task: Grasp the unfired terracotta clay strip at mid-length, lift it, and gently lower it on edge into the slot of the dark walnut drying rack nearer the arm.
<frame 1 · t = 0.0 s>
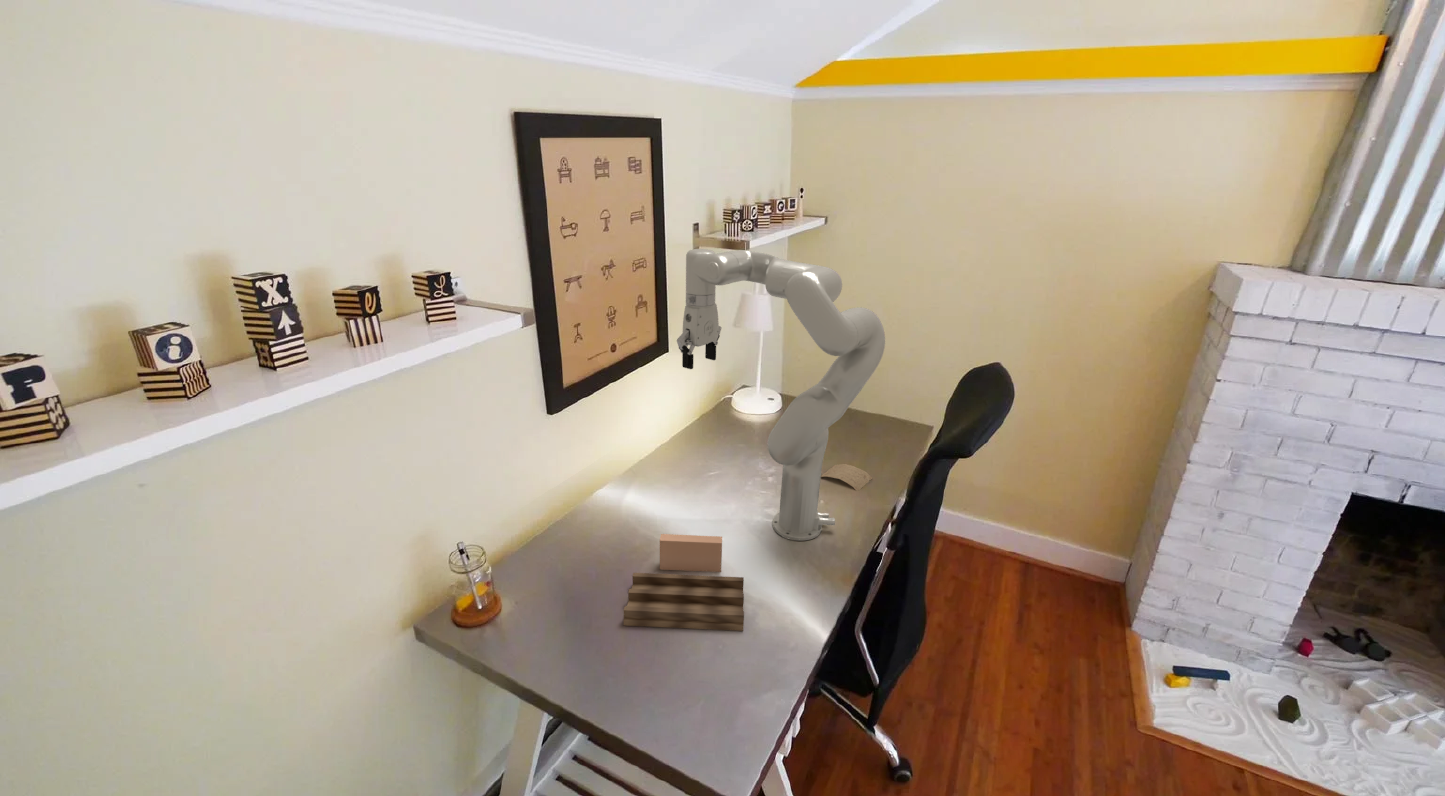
hand: (699, 363, 156), 37 cm above the table, tool pointing down, fingers open, 9 cm apart
clay strip: (690, 567, 136), on the table
clay tablet: (845, 480, 177), on the table
drying rack: (686, 606, 124), on the table
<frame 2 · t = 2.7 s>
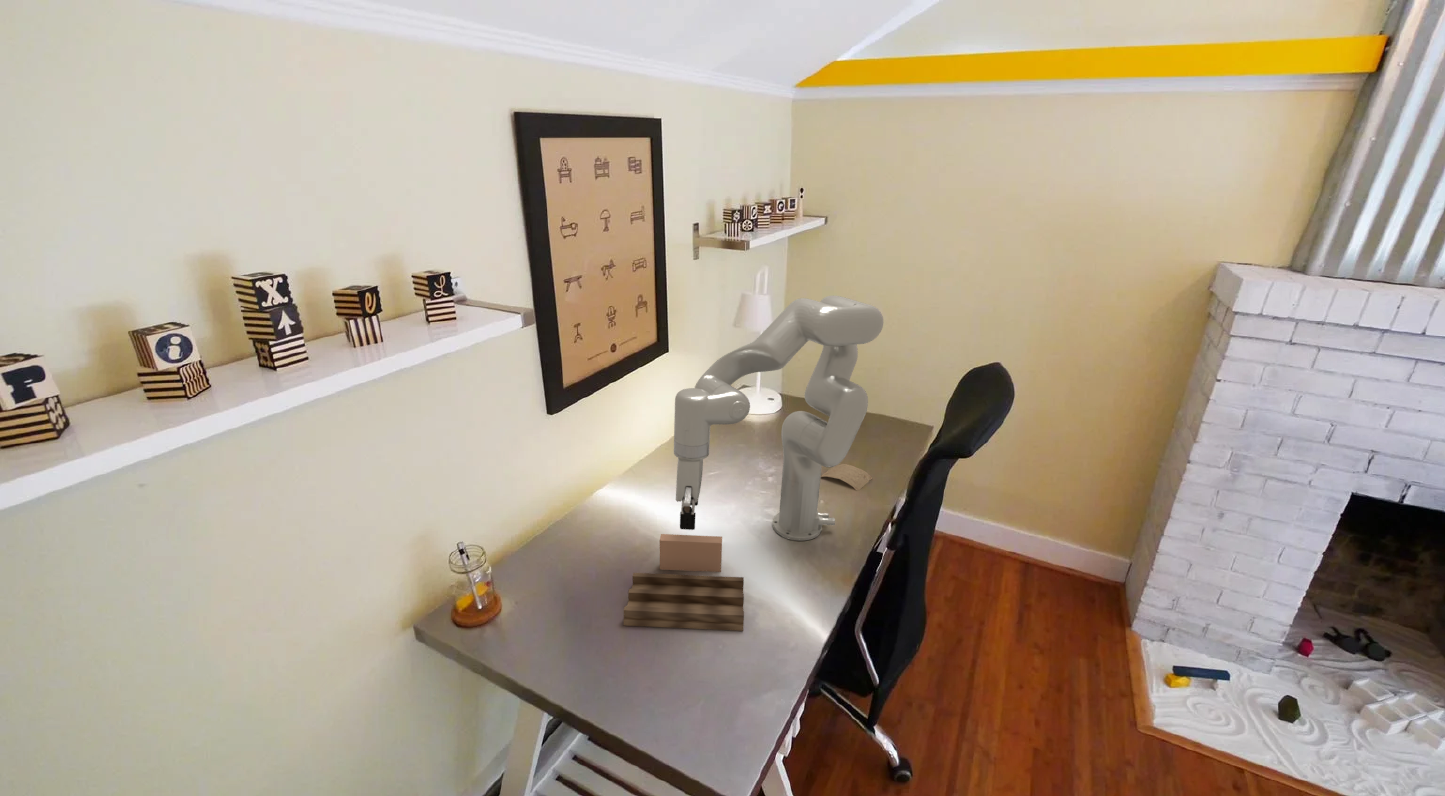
hand: (689, 516, 130), 14 cm above the table, tool pointing down, fingers open, 9 cm apart
nothing on the table moved.
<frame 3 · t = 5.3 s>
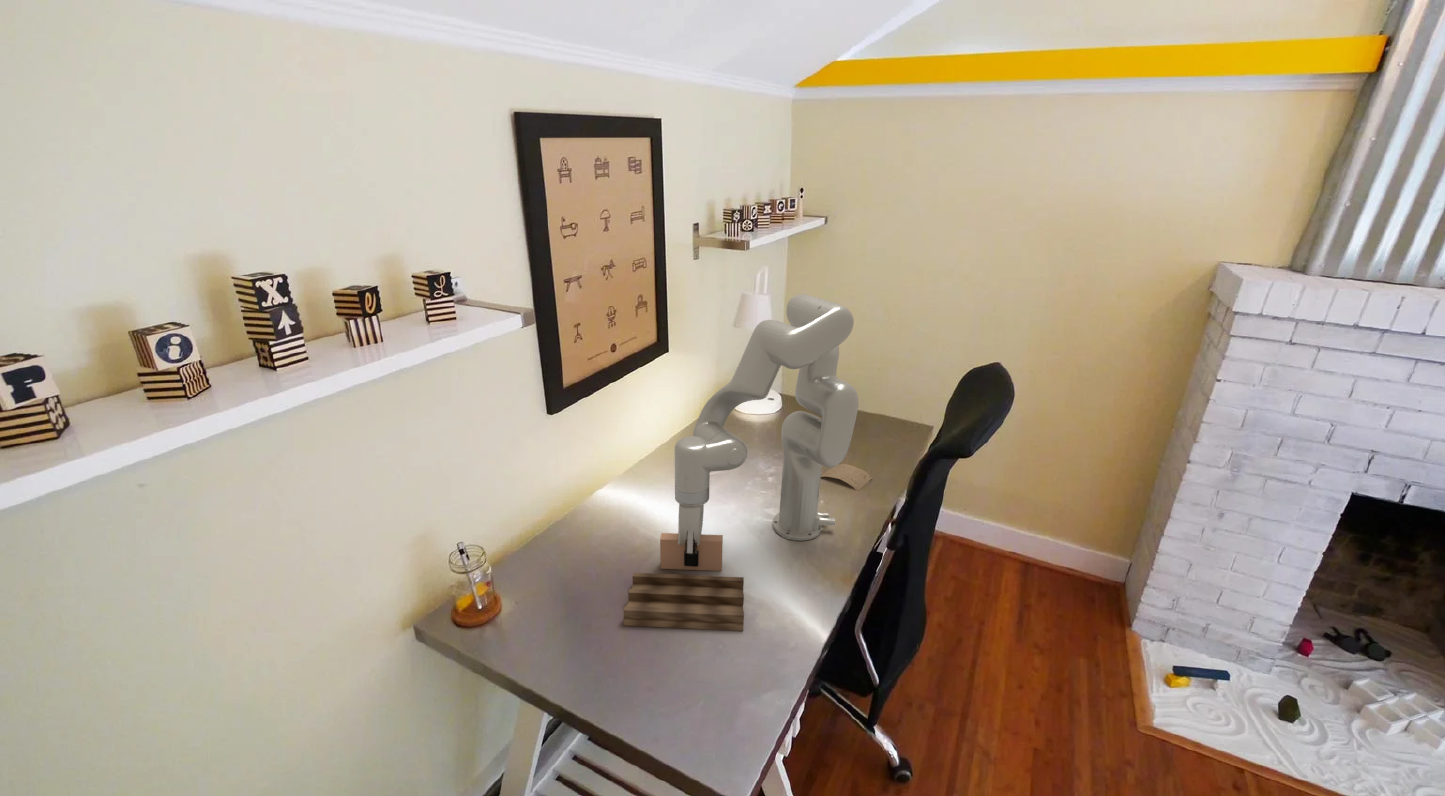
hand: (691, 560, 135), 2 cm above the table, tool pointing down, fingers closed on clay strip, 2 cm apart
clay strip: (691, 566, 136), on the table, touching gripper
everything else where it was.
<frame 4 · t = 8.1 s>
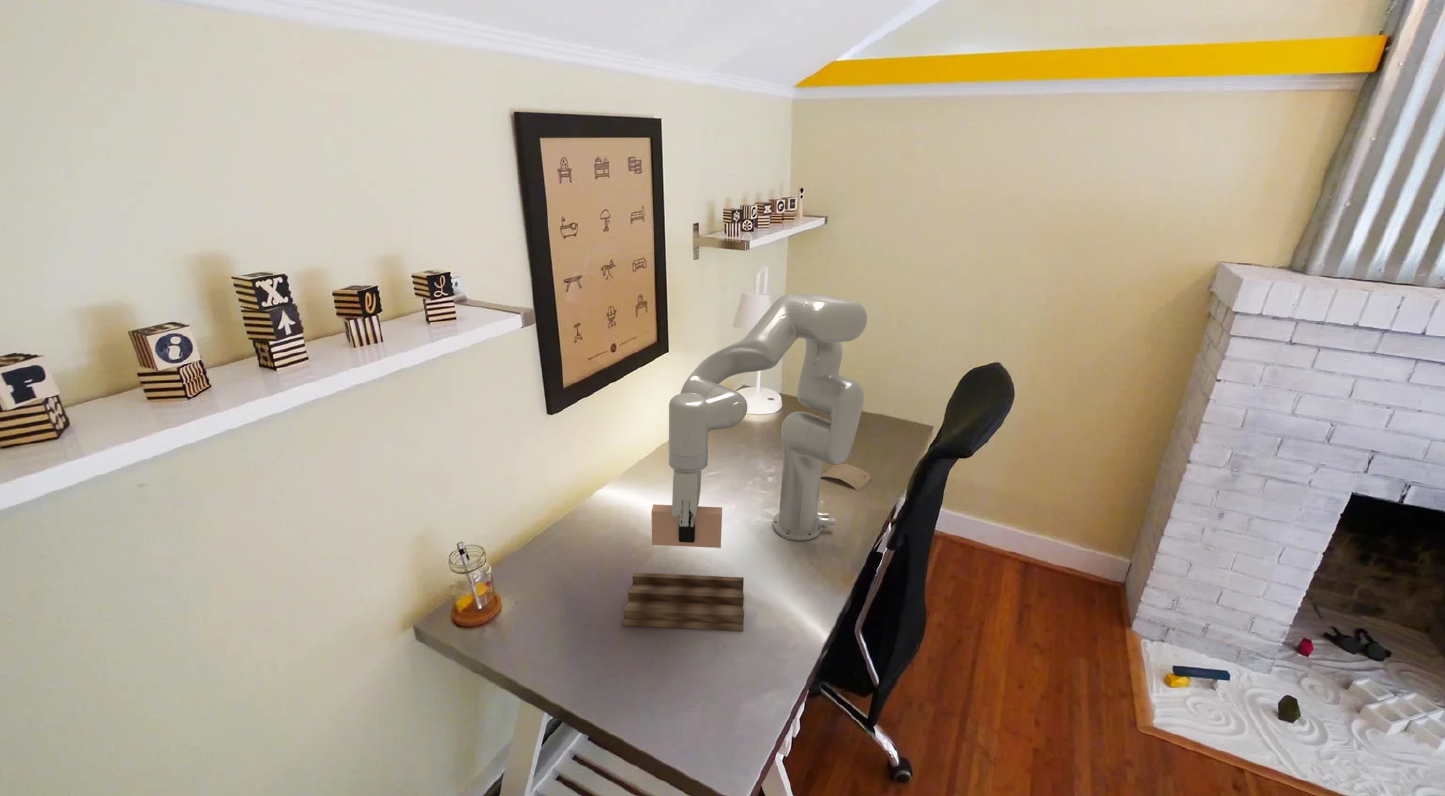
hand: (687, 536, 120), 16 cm above the table, tool pointing down, fingers closed on clay strip, 2 cm apart
clay strip: (686, 542, 121), point 14 cm above the table, touching gripper
everything else where it was.
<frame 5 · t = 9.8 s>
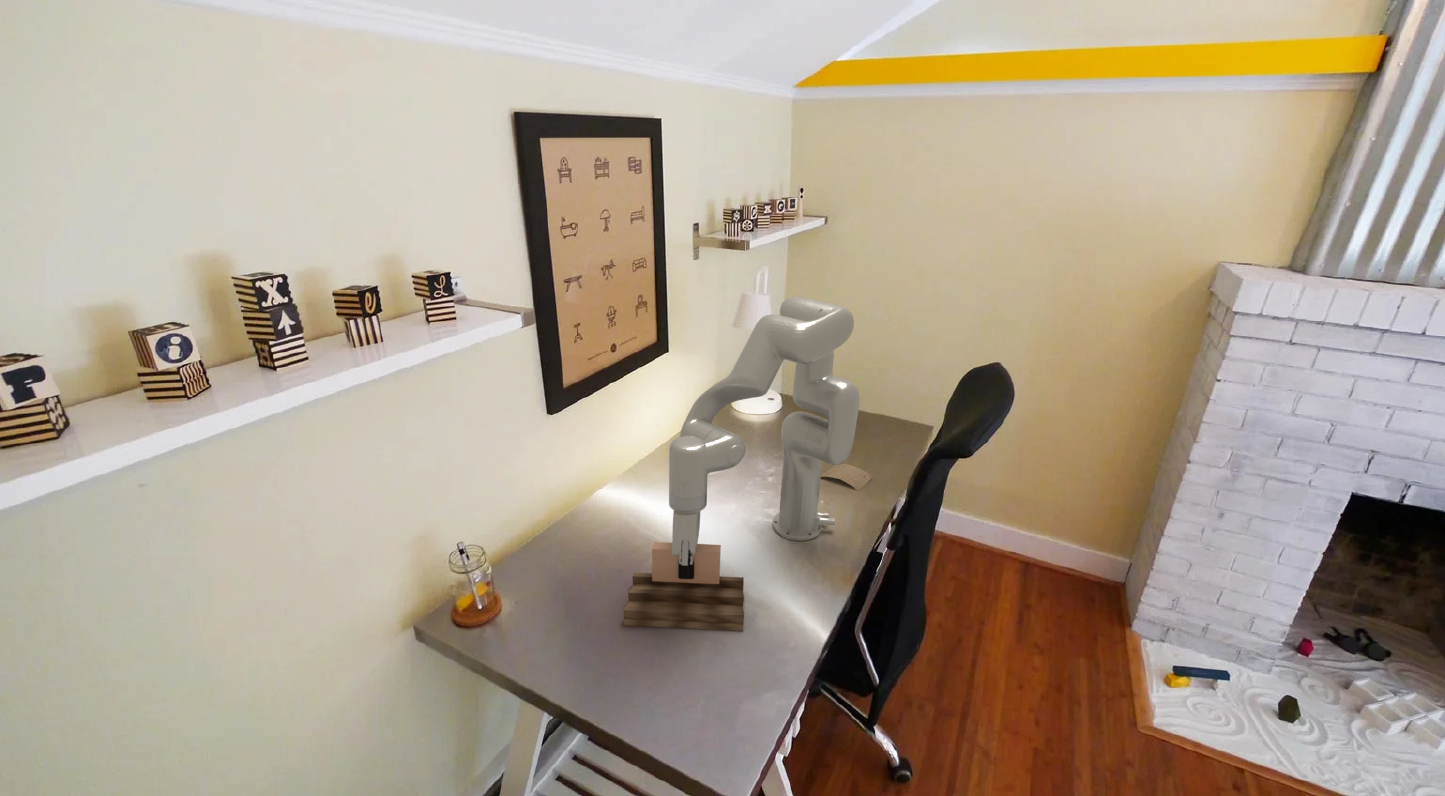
hand: (686, 572, 124), 7 cm above the table, tool pointing down, fingers closed on clay strip, 2 cm apart
clay strip: (686, 578, 124), point 5 cm above the table, touching gripper
everything else where it was.
when the fingers open (5 cm above the table, at t = 11.4 s): clay strip drops 1 cm, resting on drying rack.
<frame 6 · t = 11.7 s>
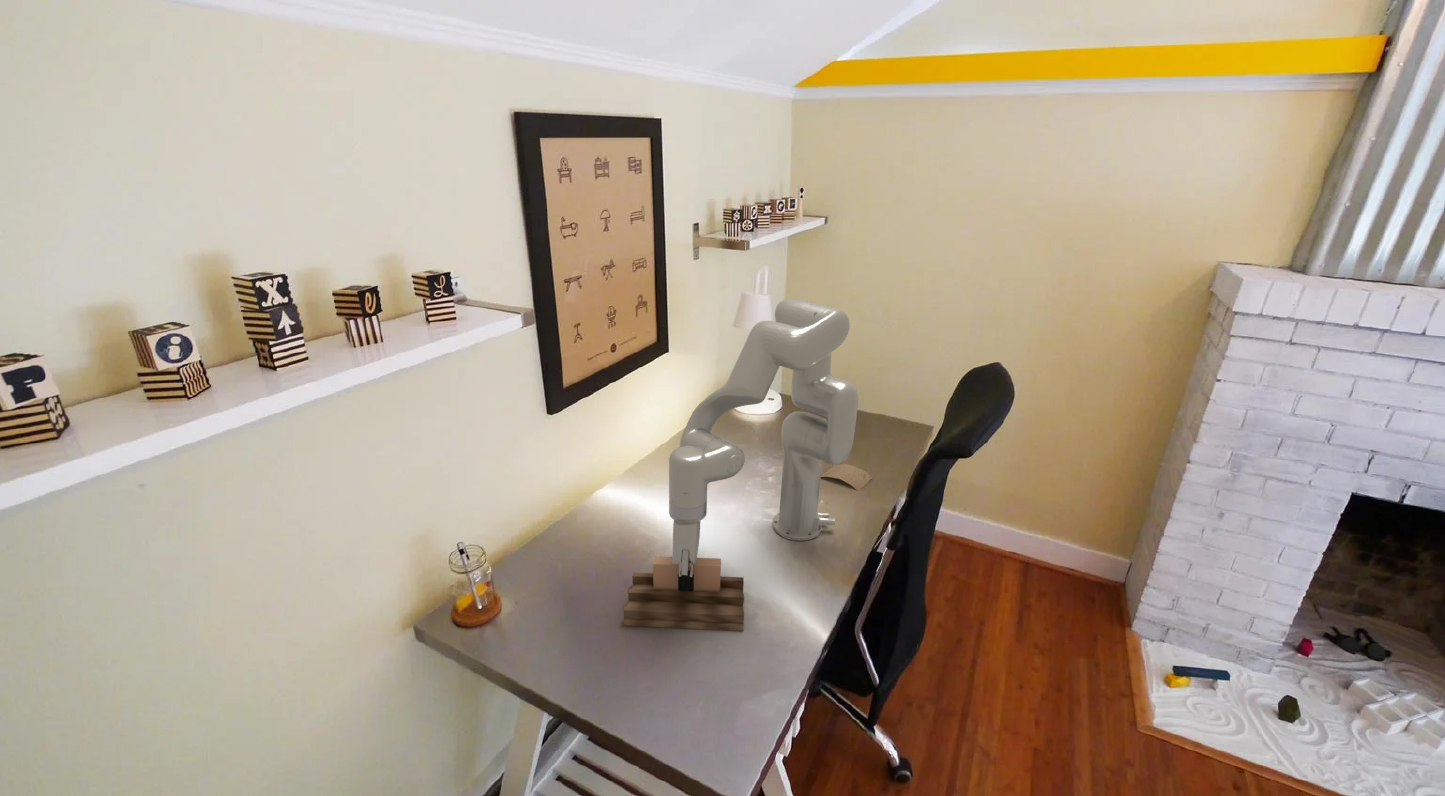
hand: (687, 579, 124), 5 cm above the table, tool pointing down, fingers open, 5 cm apart
clay strip: (687, 591, 126), point 2 cm above the table, touching drying rack
everything else where it was.
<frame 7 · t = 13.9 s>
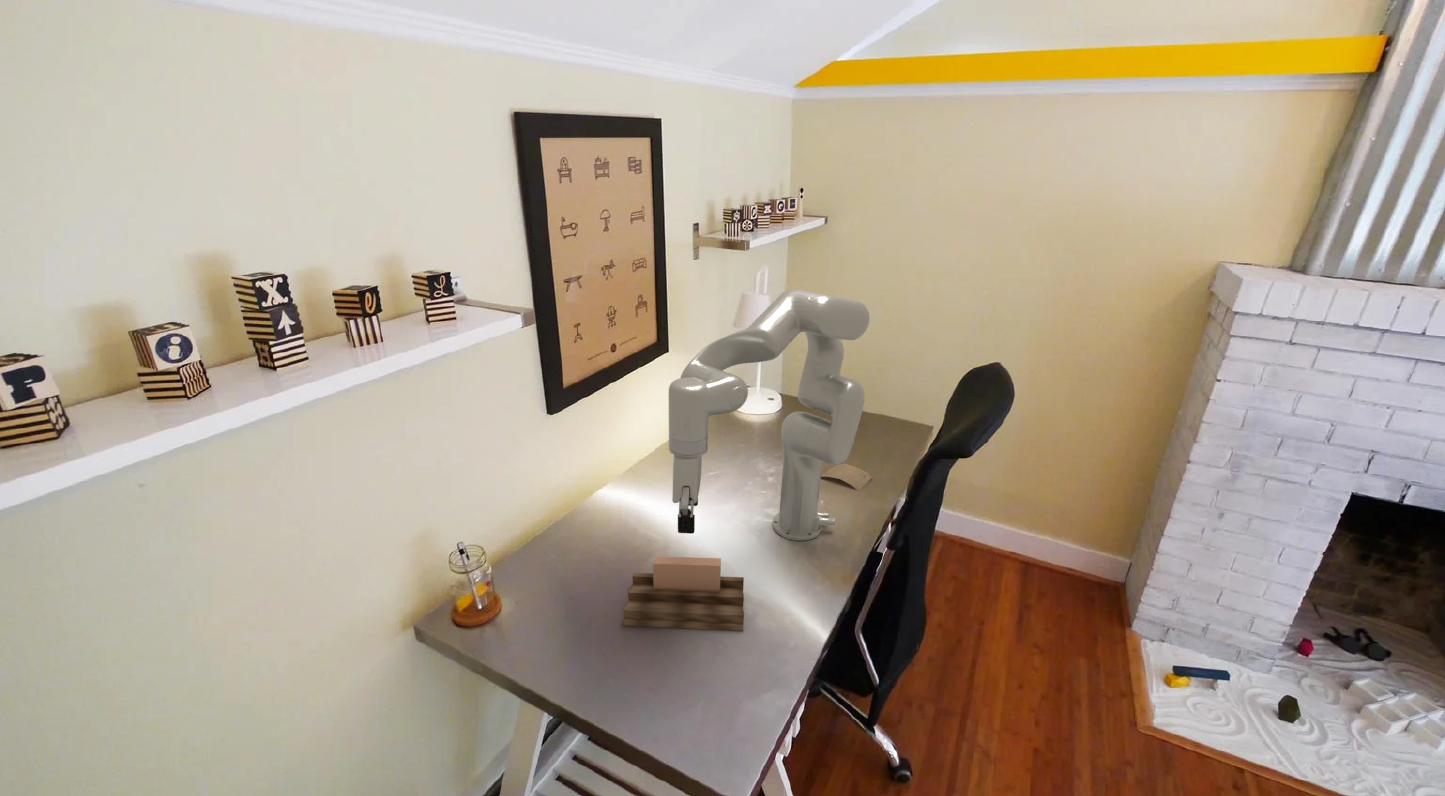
hand: (688, 518, 119), 20 cm above the table, tool pointing down, fingers open, 9 cm apart
nothing on the table moved.
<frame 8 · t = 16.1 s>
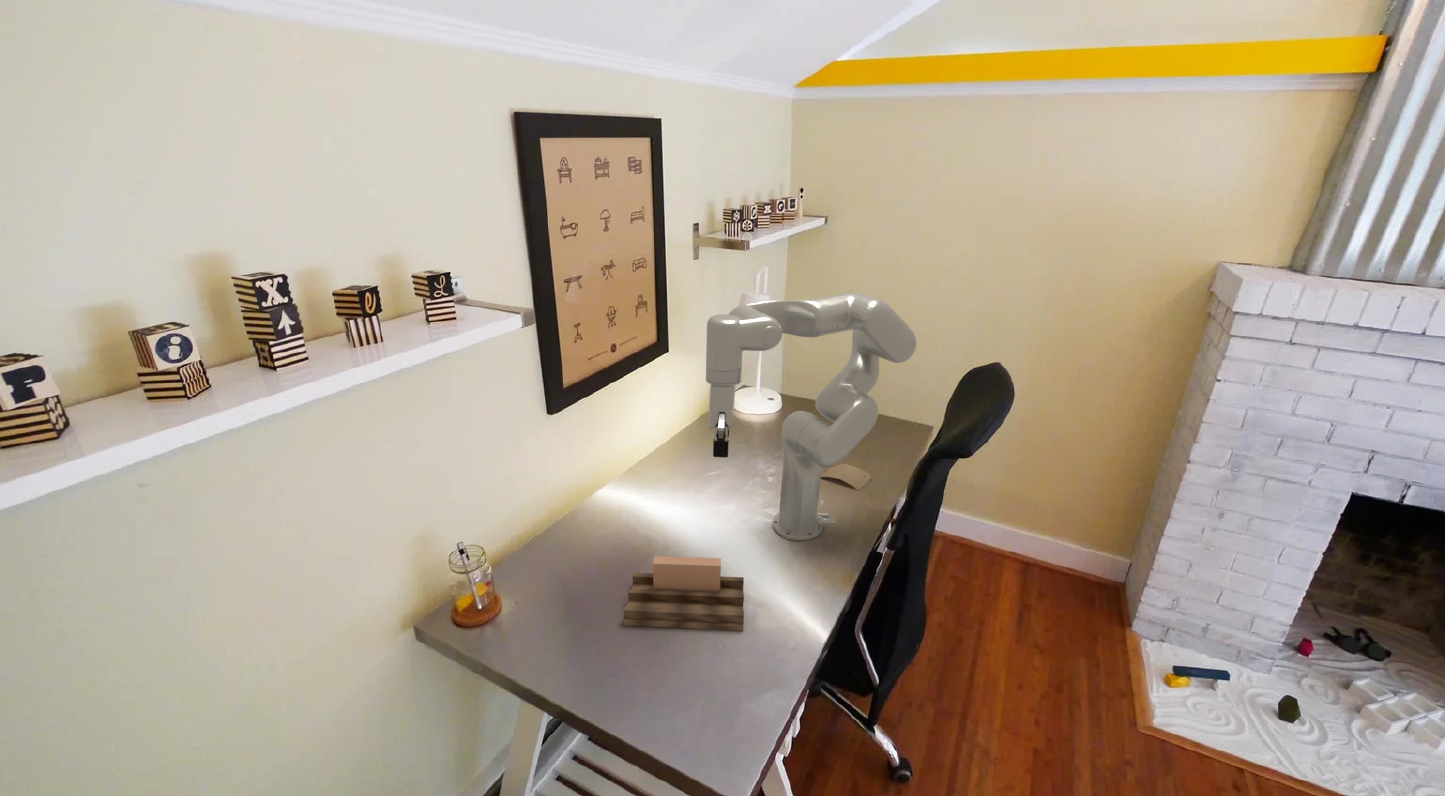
hand: (721, 446, 131), 28 cm above the table, tool pointing down, fingers open, 9 cm apart
nothing on the table moved.
at the end: clay strip inside the target area on the drying rack (0.2 cm from its centre), point 1.5 cm above the drying rack's base; clay strip tilted 0°; the gripper is holding nothing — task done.
